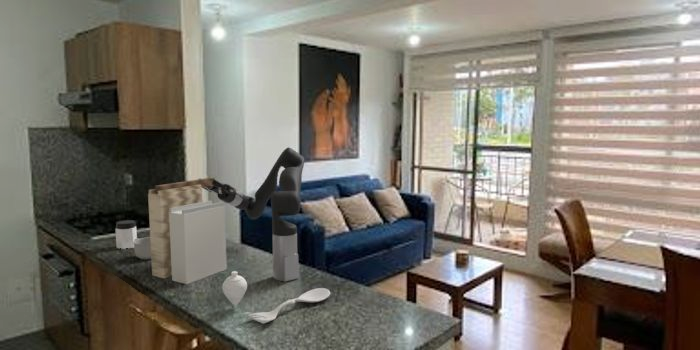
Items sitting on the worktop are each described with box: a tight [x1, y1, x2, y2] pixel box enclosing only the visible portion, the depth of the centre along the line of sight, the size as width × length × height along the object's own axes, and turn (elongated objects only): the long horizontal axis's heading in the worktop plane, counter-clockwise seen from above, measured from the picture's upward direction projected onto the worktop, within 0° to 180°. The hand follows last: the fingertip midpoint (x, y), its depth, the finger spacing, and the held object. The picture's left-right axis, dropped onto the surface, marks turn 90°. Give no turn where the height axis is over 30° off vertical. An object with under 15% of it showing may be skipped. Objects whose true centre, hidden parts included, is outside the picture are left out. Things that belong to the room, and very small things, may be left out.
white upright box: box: [169, 200, 228, 285], centre depth 179 cm, size 20×8×28 cm, turn 150°
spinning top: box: [221, 270, 248, 309], centre depth 147 cm, size 8×8×12 cm
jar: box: [115, 219, 138, 250], centre depth 219 cm, size 9×8×12 cm
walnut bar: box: [154, 177, 216, 194], centre depth 187 cm, size 28×3×3 cm, turn 152°
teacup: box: [133, 236, 151, 260], centre depth 203 cm, size 14×11×8 cm
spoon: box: [242, 287, 331, 324], centre depth 147 cm, size 9×32×4 cm, turn 141°
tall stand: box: [147, 185, 204, 279], centre depth 184 cm, size 20×7×34 cm, turn 150°
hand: (205, 181), depth 195 cm, fingers open, 8 cm apart
